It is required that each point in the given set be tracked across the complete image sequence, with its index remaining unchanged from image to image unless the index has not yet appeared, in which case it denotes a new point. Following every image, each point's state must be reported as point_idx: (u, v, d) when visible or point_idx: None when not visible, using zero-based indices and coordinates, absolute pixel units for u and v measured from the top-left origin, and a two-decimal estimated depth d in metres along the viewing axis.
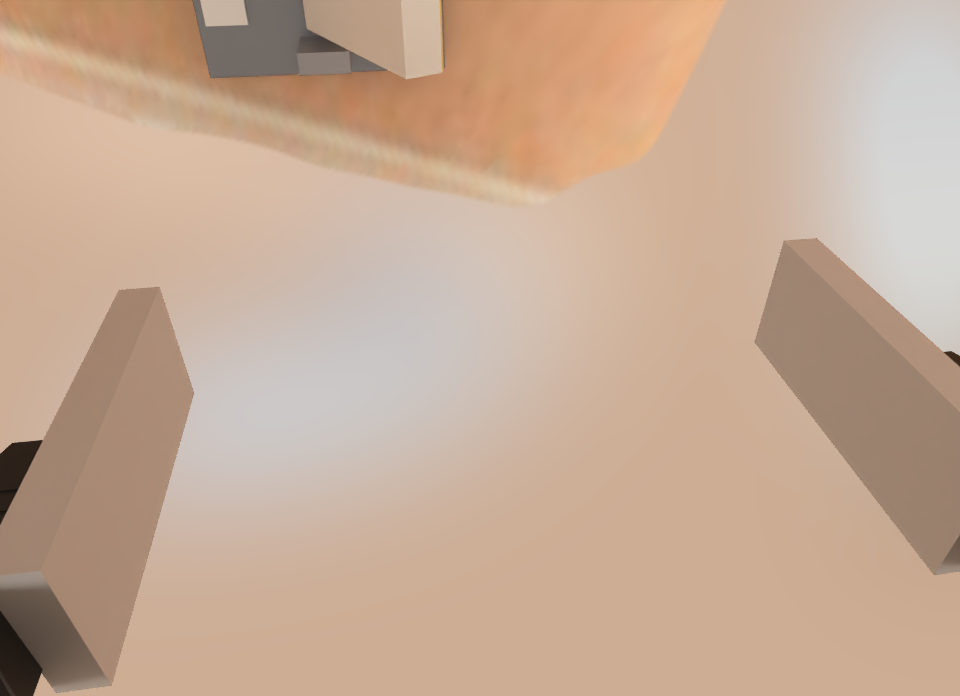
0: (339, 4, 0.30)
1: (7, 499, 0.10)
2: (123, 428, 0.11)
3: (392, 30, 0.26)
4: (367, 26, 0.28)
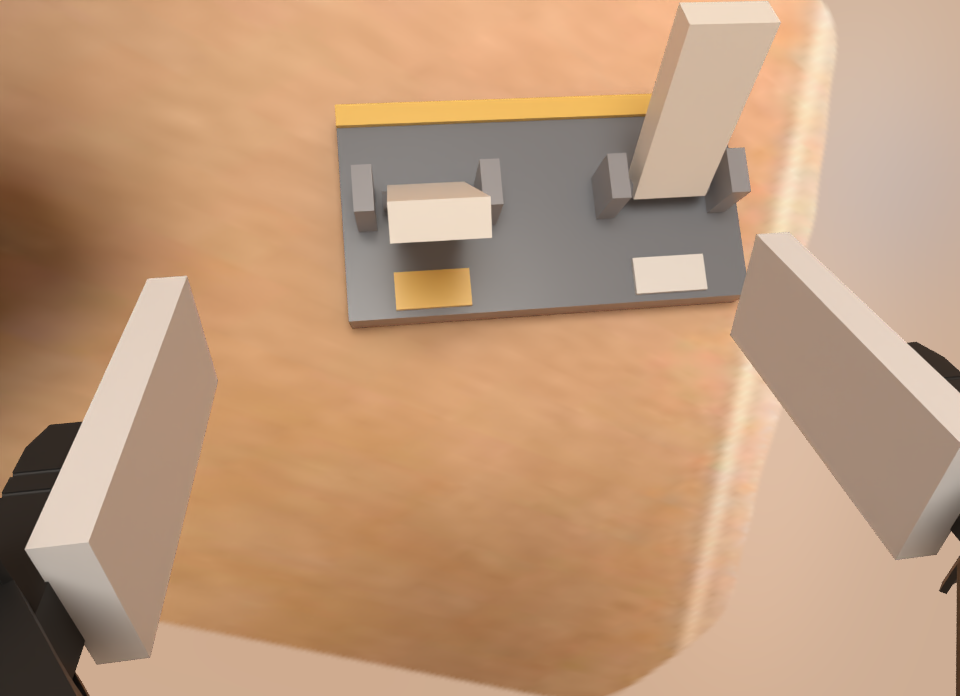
0: (699, 133, 0.34)
1: (48, 477, 0.11)
2: (157, 410, 0.12)
3: (737, 42, 0.30)
4: (725, 85, 0.32)
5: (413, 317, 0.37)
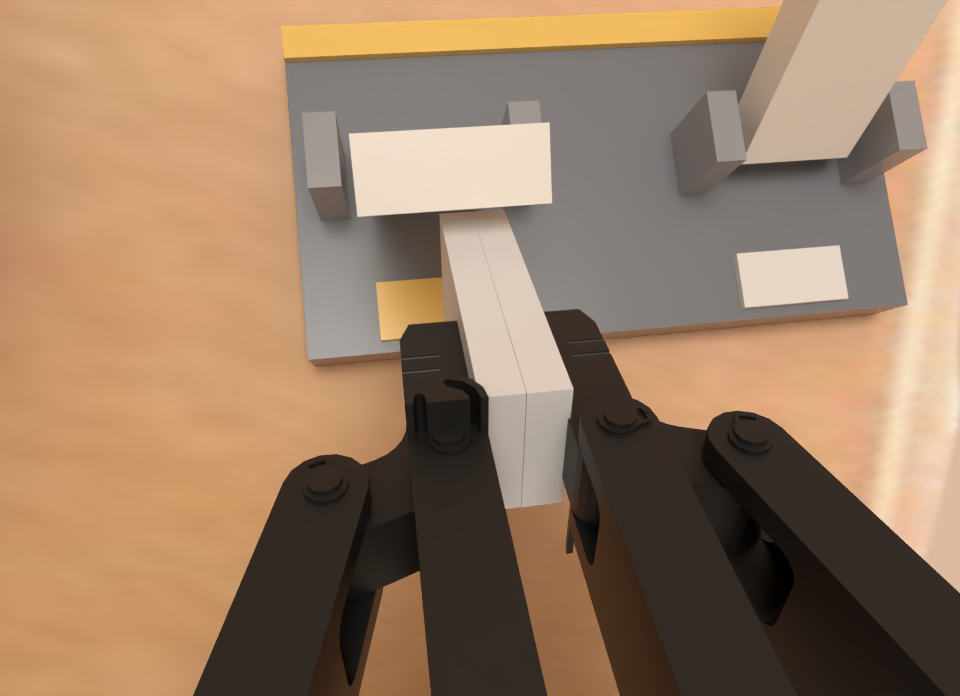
0: (863, 52, 0.21)
1: (432, 361, 0.13)
2: None
3: None
4: None
5: None
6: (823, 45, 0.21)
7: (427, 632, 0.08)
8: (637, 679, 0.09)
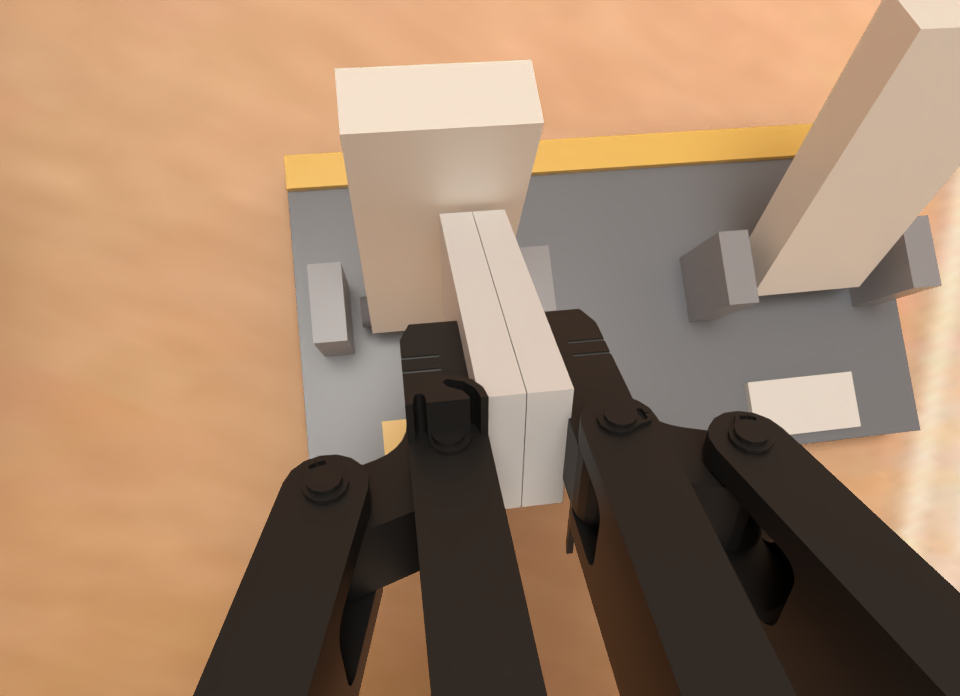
0: (879, 203, 0.21)
1: (432, 361, 0.13)
2: None
3: None
4: (945, 130, 0.19)
5: None
6: (838, 199, 0.20)
7: (427, 632, 0.08)
8: (637, 679, 0.09)
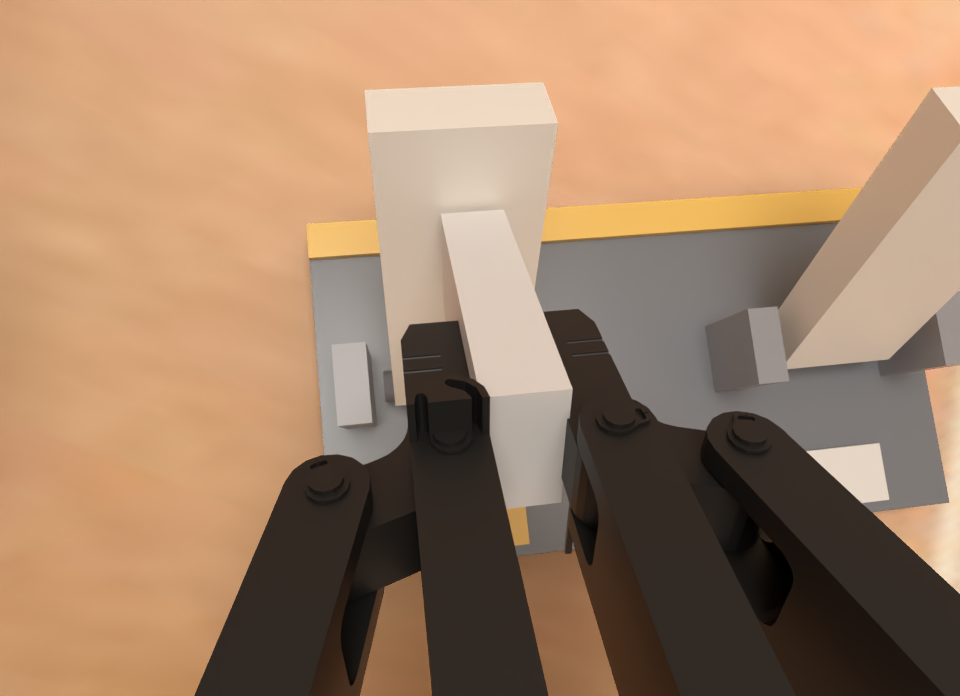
0: (913, 287, 0.20)
1: (433, 360, 0.13)
2: None
3: None
4: None
5: None
6: (873, 284, 0.20)
7: (428, 632, 0.08)
8: (636, 679, 0.09)
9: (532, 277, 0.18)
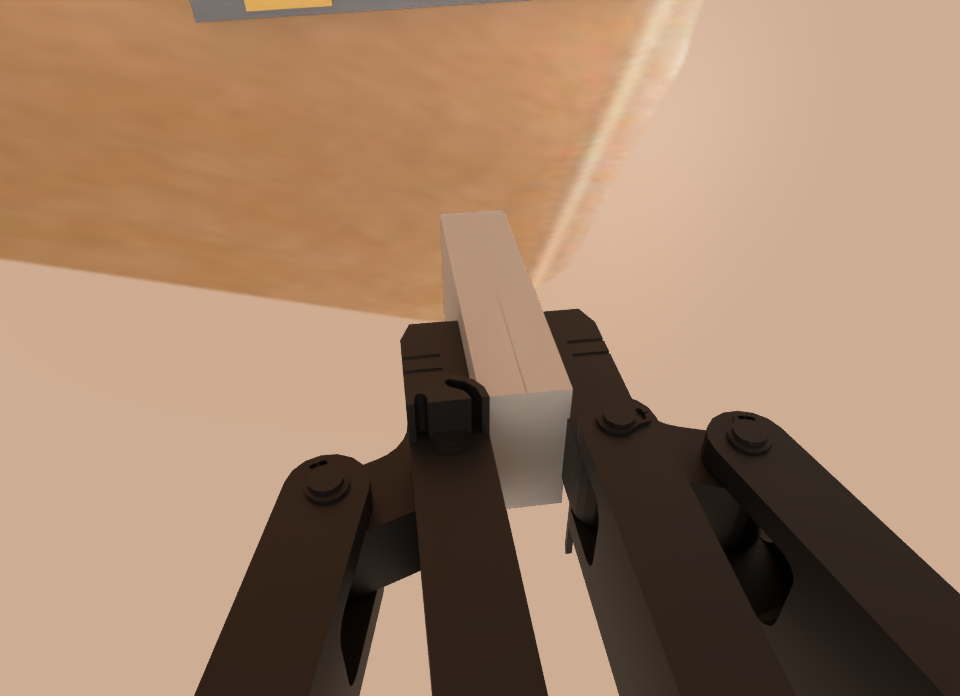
0: None
1: (433, 360, 0.13)
2: None
3: None
4: None
5: (268, 16, 0.34)
6: None
7: (428, 632, 0.08)
8: (636, 679, 0.09)
9: None
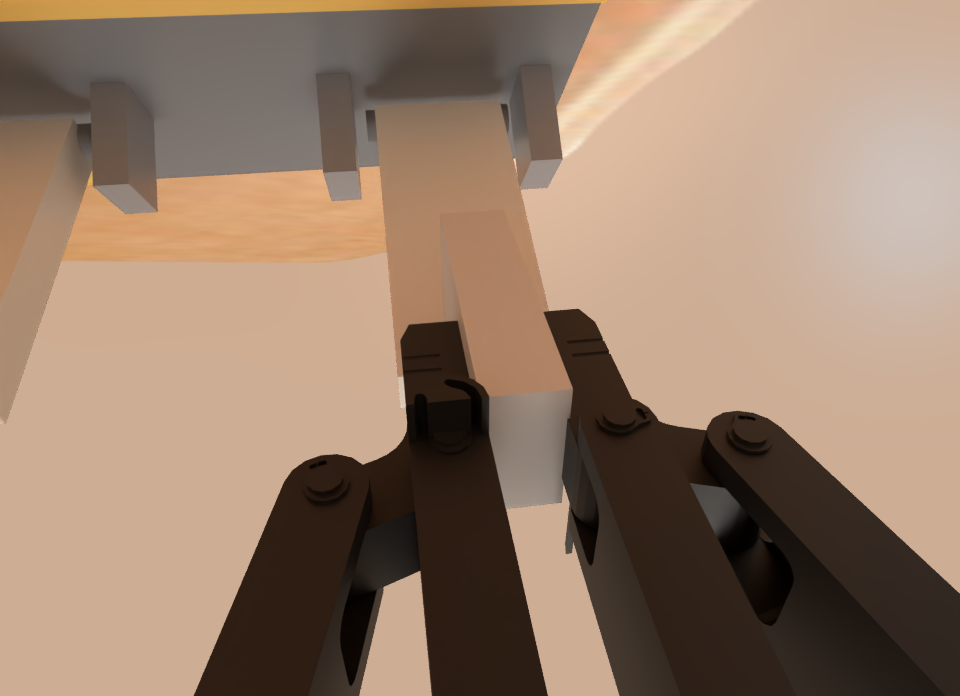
0: None
1: (433, 361, 0.13)
2: None
3: None
4: None
5: None
6: None
7: (428, 632, 0.08)
8: (636, 679, 0.09)
9: (50, 281, 0.19)
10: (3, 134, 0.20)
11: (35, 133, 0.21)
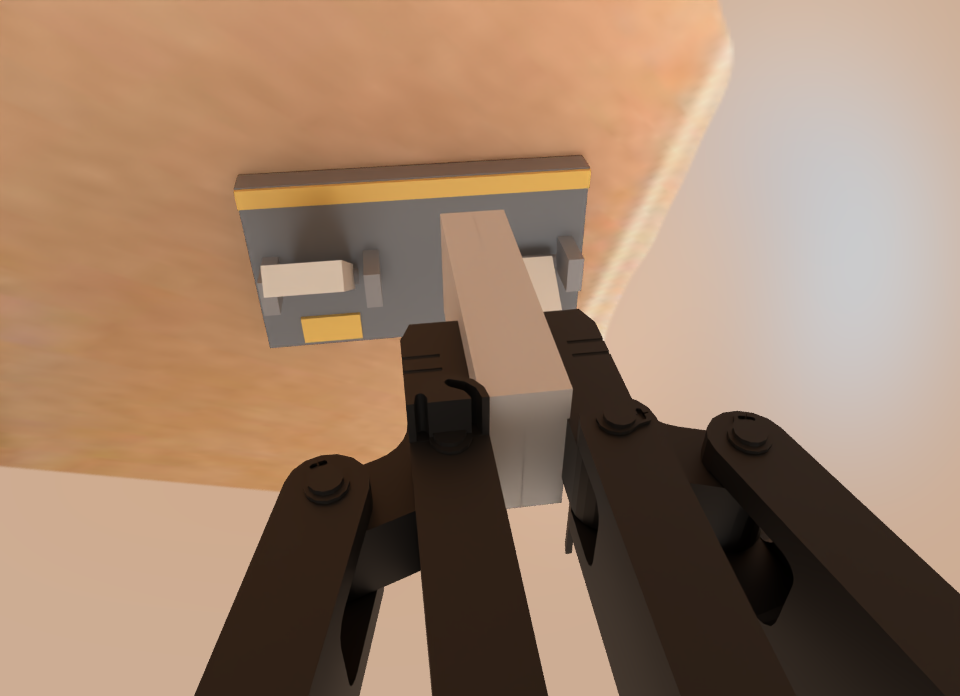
0: None
1: (433, 361, 0.13)
2: None
3: None
4: None
5: None
6: None
7: (428, 632, 0.08)
8: (636, 679, 0.09)
9: None
10: None
11: None
